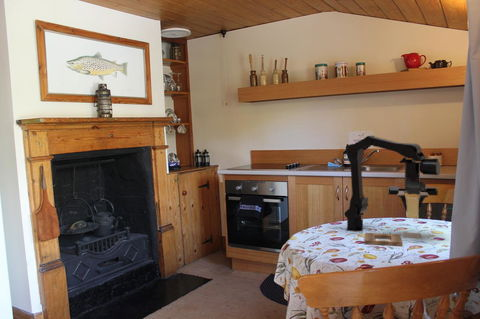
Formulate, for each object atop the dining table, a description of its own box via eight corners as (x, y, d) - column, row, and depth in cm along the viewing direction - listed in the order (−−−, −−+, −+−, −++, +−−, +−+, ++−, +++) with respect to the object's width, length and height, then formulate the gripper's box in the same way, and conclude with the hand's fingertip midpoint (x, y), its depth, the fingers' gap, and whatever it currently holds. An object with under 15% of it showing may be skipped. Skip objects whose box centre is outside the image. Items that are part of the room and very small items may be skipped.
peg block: (406, 217, 170) (406, 198, 169) (406, 215, 174) (406, 197, 173) (418, 218, 168) (418, 199, 168) (417, 215, 172) (417, 197, 172)
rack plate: (364, 246, 162) (364, 240, 161) (365, 238, 173) (365, 232, 173) (402, 248, 157) (402, 242, 157) (400, 240, 169) (400, 234, 168)
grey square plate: (404, 239, 169) (404, 237, 169) (402, 234, 177) (402, 232, 177) (422, 240, 167) (422, 238, 167) (420, 235, 175) (420, 233, 174)
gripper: (389, 176, 165) (389, 214, 166) (439, 176, 159) (439, 216, 160) (388, 173, 175) (388, 208, 177) (435, 173, 170) (435, 210, 171)
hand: (412, 211), depth 171 cm, fingers closed on peg block, 4 cm apart
